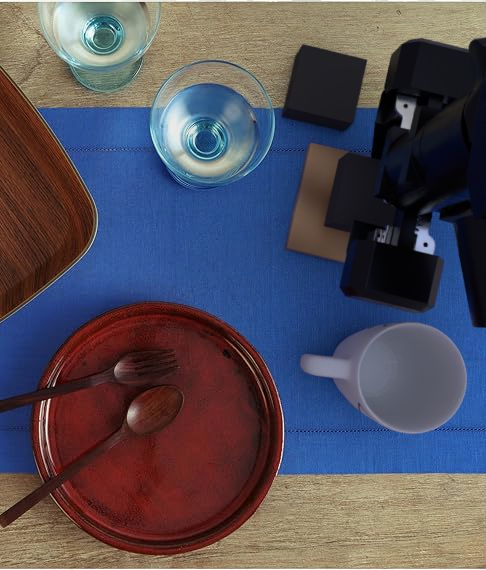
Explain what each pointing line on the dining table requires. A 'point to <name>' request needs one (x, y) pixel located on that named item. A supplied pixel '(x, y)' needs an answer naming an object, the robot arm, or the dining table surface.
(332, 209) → the pad bottom
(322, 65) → the pad top
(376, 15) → the dining table surface
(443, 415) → the mug
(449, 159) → the robot arm
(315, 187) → the cork mat
